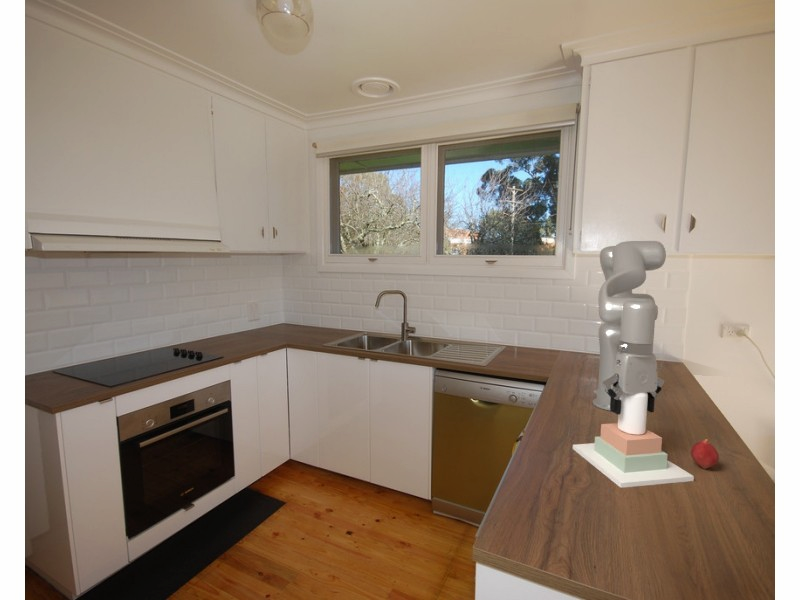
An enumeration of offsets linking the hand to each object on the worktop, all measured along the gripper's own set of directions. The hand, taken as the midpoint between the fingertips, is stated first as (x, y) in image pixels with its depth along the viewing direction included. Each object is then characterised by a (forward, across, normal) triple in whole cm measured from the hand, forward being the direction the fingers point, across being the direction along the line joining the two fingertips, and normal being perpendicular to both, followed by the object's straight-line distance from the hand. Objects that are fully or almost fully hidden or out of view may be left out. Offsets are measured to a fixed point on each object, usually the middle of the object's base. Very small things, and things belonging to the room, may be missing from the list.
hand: (631, 411), depth 106 cm
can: (+5, 0, 0) cm, 6 cm away
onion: (+15, +18, -5) cm, 24 cm away
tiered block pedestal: (+14, 0, 0) cm, 14 cm away
